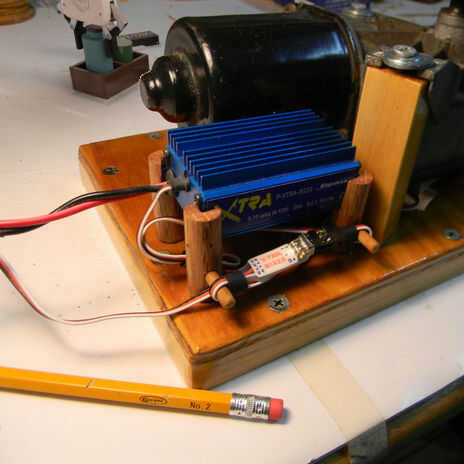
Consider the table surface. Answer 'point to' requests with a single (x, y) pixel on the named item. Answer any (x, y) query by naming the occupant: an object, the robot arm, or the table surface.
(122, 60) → the green jar
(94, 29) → the water bottle
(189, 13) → the table surface
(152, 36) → the multiport hub
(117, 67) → the cup holder
